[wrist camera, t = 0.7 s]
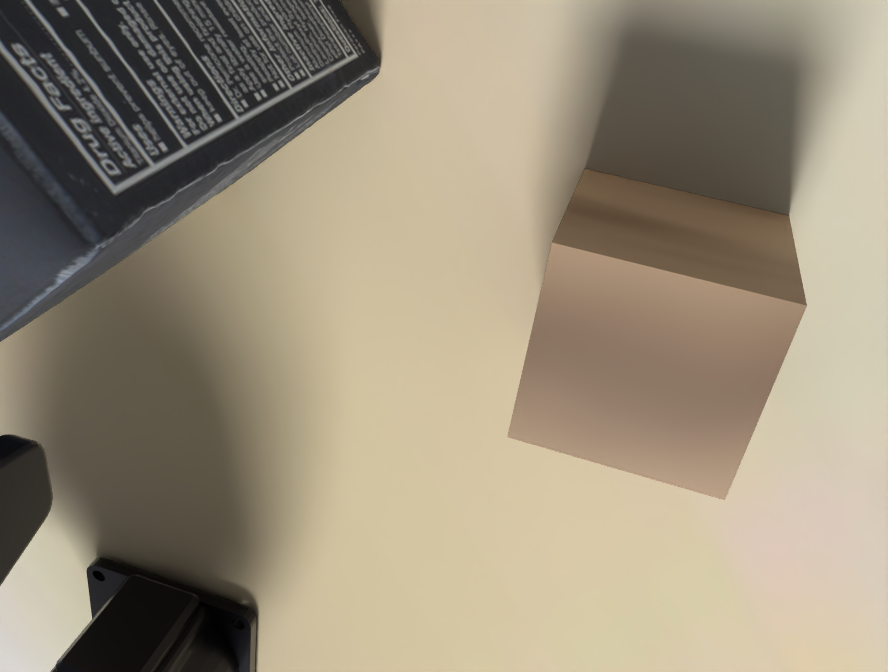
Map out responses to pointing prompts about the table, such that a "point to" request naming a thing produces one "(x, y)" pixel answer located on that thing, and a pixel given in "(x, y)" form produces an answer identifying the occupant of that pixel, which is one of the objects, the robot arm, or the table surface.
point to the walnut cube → (658, 331)
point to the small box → (146, 121)
